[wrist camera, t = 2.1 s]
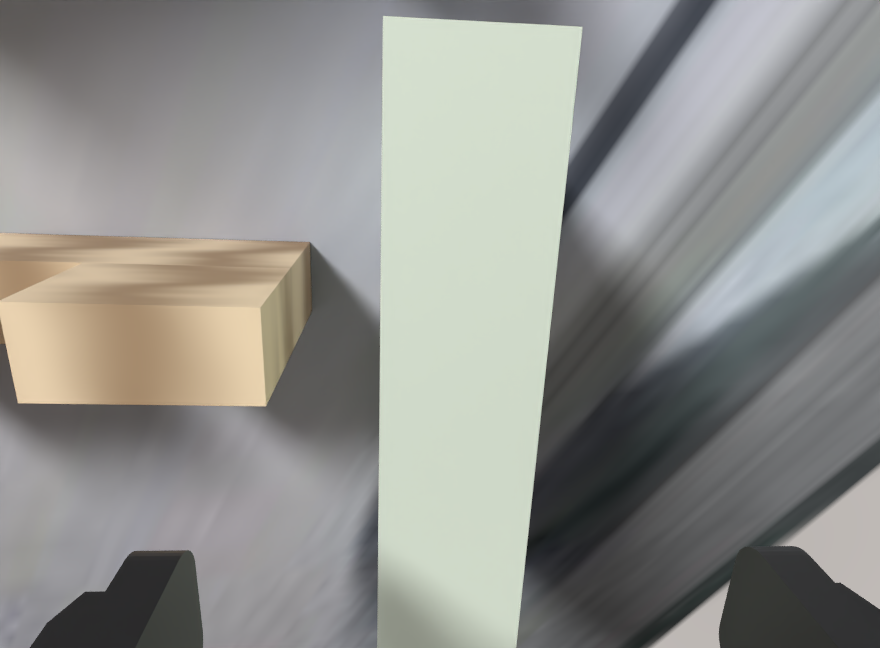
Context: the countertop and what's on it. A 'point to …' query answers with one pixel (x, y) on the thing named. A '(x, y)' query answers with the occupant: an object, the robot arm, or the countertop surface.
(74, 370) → the oak u-shaped block
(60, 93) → the countertop surface
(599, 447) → the countertop surface
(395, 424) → the sage board
